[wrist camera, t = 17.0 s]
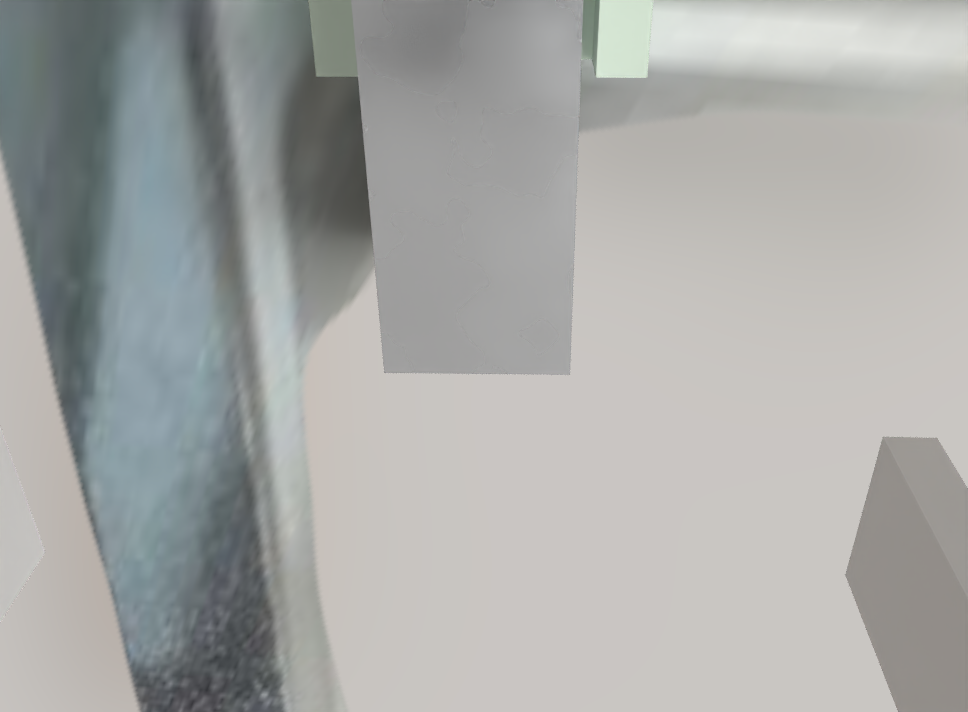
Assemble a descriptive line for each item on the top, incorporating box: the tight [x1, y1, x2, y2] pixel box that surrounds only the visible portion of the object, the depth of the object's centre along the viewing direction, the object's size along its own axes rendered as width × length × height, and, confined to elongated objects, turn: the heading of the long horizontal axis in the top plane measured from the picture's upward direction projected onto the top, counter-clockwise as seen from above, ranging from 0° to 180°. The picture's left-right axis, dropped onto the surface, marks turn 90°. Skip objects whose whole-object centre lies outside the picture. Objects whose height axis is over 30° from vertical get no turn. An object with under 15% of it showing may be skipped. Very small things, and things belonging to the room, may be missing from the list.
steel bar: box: [351, 0, 583, 375], centre depth 23 cm, size 17×5×7 cm, turn 1°
